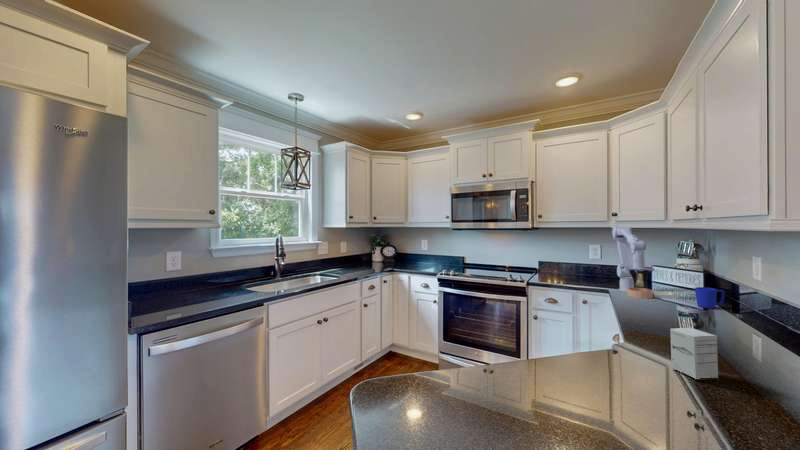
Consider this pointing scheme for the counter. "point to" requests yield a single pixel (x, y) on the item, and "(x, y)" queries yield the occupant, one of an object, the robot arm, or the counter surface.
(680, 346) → the supplement box
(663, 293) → the tray
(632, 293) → the orange peg base
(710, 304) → the mug
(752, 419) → the counter surface
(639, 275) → the peg
